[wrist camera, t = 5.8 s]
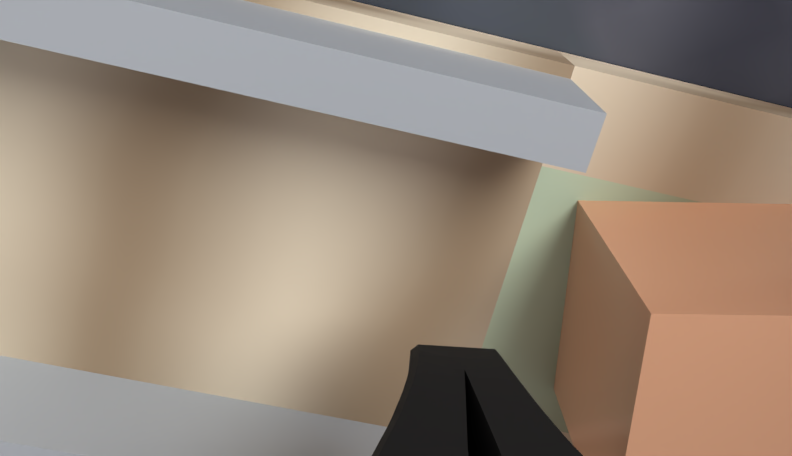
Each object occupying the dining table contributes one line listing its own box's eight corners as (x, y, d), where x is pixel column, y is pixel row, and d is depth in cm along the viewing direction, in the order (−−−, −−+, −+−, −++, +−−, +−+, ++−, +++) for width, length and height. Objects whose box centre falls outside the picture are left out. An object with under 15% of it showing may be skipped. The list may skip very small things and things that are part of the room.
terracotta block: (801, 204, 15) (957, 317, 11) (753, 391, 17) (873, 549, 13) (577, 200, 15) (651, 313, 11) (553, 388, 17) (608, 548, 13)
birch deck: (891, 132, 16) (938, 154, 15) (647, 609, 22) (665, 657, 20) (-168, -127, 14) (-228, -129, 13) (-138, 479, 19) (-178, 524, 18)
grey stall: (570, 79, 14) (606, 114, 12) (440, 472, 18) (449, 557, 15) (-164, -98, 13) (-285, -97, 10) (-142, 368, 16) (-227, 444, 14)
